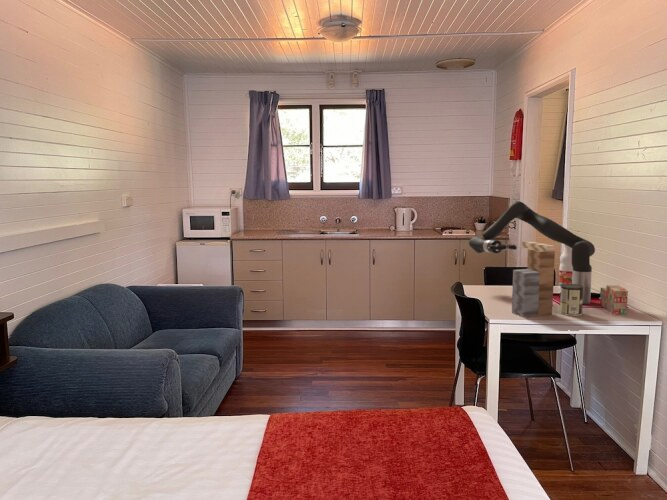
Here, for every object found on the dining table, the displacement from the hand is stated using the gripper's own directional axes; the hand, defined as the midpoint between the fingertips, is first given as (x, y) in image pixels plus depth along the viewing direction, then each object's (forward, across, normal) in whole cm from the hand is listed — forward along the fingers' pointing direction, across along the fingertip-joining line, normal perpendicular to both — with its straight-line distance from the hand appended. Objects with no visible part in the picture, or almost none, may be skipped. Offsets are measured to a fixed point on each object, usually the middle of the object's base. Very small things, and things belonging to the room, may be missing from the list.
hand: (509, 248), depth 280 cm
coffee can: (+30, +15, +32) cm, 46 cm away
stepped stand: (+25, -4, +32) cm, 40 cm away
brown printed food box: (+30, +40, +32) cm, 59 cm away
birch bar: (+24, 0, -1) cm, 24 cm away
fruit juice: (-16, +50, +28) cm, 60 cm away
